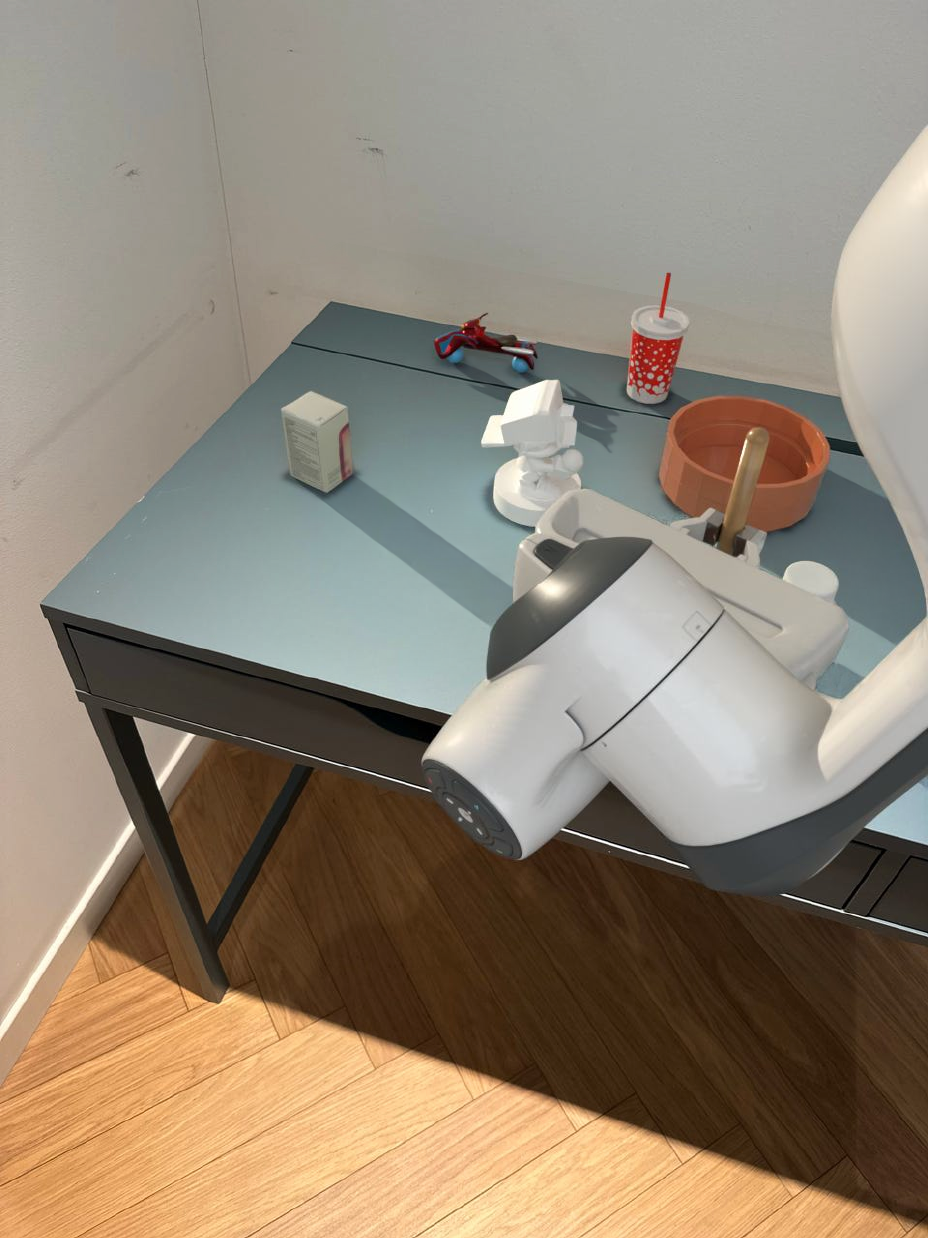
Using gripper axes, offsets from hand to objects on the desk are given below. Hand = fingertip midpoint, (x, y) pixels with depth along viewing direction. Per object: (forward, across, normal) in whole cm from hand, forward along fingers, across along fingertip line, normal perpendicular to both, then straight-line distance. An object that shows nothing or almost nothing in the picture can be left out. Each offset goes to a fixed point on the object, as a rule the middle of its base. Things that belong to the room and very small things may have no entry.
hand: (736, 527), depth 65 cm
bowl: (+26, +10, +17) cm, 33 cm away
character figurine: (+12, +24, +17) cm, 32 cm away
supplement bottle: (+7, -4, +17) cm, 19 cm away
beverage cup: (+36, +26, +17) cm, 47 cm away
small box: (+1, +43, +17) cm, 46 cm away
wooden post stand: (-1, 0, +10) cm, 10 cm away
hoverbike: (+28, +43, +17) cm, 54 cm away
